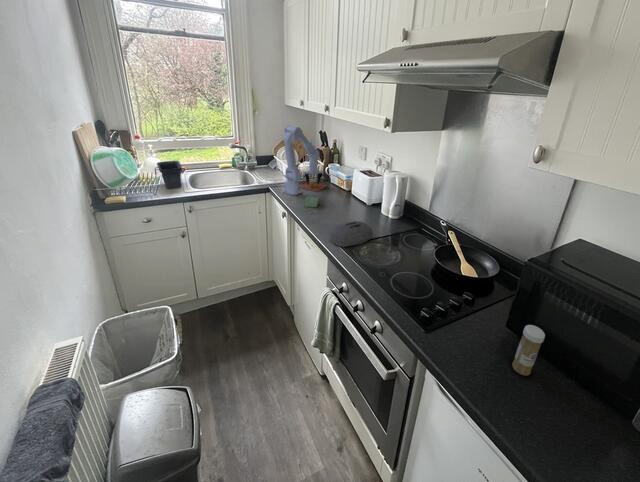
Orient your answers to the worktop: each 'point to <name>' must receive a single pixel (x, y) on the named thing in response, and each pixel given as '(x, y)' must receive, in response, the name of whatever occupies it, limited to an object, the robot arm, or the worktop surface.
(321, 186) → the mat
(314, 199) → the sage block
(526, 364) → the sprinkles bottle
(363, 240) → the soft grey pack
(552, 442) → the worktop surface
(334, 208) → the worktop surface
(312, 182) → the maple cube
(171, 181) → the storage bin
